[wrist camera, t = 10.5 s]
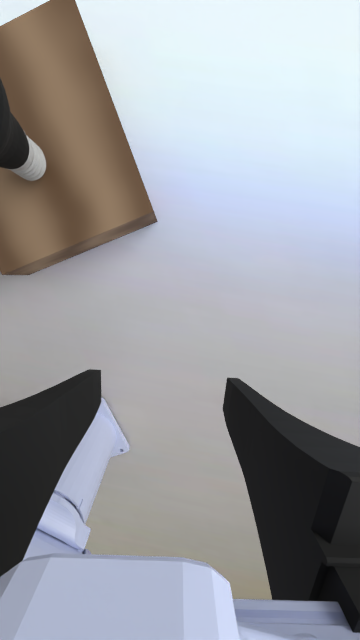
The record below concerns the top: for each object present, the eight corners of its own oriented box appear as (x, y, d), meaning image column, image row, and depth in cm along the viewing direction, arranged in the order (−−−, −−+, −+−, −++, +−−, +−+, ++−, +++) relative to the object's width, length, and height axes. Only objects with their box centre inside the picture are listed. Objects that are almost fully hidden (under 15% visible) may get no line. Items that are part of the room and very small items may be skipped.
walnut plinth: (28, 274, 19) (2, 274, 16) (-58, 117, 16) (-109, 82, 13) (157, 221, 18) (153, 211, 16) (91, 43, 15) (70, -11, 13)
